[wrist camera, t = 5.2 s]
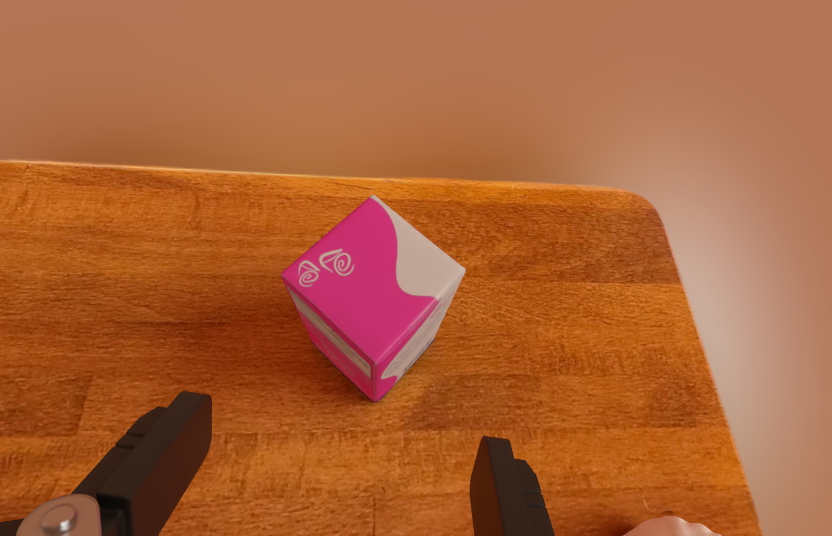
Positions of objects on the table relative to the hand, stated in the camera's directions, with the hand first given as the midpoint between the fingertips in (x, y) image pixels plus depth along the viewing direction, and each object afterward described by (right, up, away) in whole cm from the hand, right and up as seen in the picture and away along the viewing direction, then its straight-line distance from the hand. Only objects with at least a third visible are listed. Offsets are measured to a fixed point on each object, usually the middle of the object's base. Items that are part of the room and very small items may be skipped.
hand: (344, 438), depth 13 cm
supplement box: (-1, 0, +16) cm, 16 cm away
